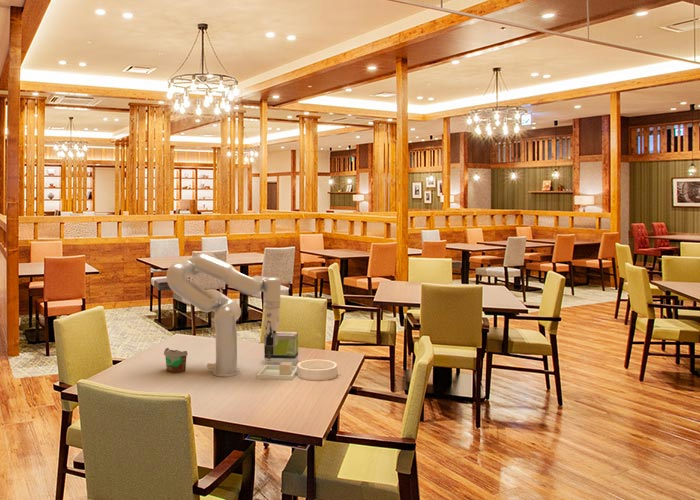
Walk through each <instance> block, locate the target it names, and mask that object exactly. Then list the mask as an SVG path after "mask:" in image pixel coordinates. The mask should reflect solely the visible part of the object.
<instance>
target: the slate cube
mask: <svg viewBox="0 0 700 500" xmlns="http://www.w3.org/2000/svg"><path fill="white" fill-rule="evenodd" d="M264 335H265V340H264V339H263V340H264V341H263V342H264V343H263V347H264V346H266V333H265V334H264ZM277 344H278V333H273V346H276V345H277Z"/></svg>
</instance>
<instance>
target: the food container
mask: <svg viewBox="0 0 700 500" xmlns="http://www.w3.org/2000/svg"><path fill="white" fill-rule="evenodd" d="M163 355H164V356H165V357H164V358H165V367H166V372H167V373H170V374H180V373H185V372H186V368H187V367H186V366H187V357H188V351H187V350H183V351H182V350H177V349H174V350H173V349H170V348H169V347H167V348H165V349H164V351H163Z"/></svg>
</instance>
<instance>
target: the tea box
mask: <svg viewBox="0 0 700 500" xmlns="http://www.w3.org/2000/svg"><path fill="white" fill-rule="evenodd" d="M276 333H278V344H277V345H276V346H264V345H263V347H264V348H263V351H264V353H263V355H264V357H263V358H264V365H276V366H279V365H280V364H281V362H293V366H295V365H297V364H298V362H299V332H298V331H276ZM263 337H264V338H263V340H265V334H264V336H263Z"/></svg>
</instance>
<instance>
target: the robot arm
mask: <svg viewBox="0 0 700 500" xmlns="http://www.w3.org/2000/svg"><path fill="white" fill-rule="evenodd" d="M202 273H203V274H205V275H207V276H209V277H212V278H215V279H217V280H219V281H221V282H223V283H225V284H226V285H228V286H229V287H231V288H233V289H235V290H237V291H240V292H242V293H245V294H247V295H250V296H251V295H252V296H254V295H257V294H259V293H261V292H263V302H262V303H263V307H262V308H263V309H265V313H264V330H265V331H266V333H265V334H266V346H273V333H276V332H277V330H278V329H279V328H280V309H281V289H282V288H281V283H282V282H281V278H279V277H277V276H261V275H253V276H248V275H246V274H244V273H241V272H240V271H238V270H237V269H235V267H234V266H233V265H232V264H231V263H229V262H227V261H224V260H222V259H219V258H217V257H216V255H215V254H214V253H212V252H210V251H203V252H201V253H198V254H196V255H195V256H193V257H188V258H186V259H184V260H180V261H177V262H174V263H172V264H171V265H170V266H169V267H168V268H167V271H166V282H167V285H168V287H169V289H171V291H172V292H174V293H175V294H176V295H177V296H179V297H180V298H182V299H183V300H185V301H186V302H188V303H189V304H191V305H192V306H194V307H195V308H196V309H198V310H199V311H201V312H203V313H210V312H214V316H213V320H214V331H215V333H214V334H215V362H214V363H211V362H210V363H207V365H206V368H207V369H211V370H212V375H213V376H215V377H220V378H224V377H225V378H226V377H234V376H238V375H240V374H241V368H238V337H237V336H238V333H237V321H238V320H239V318H240V317H241V315H242V309H241V307H240V305H239V304H238V303H237V302H236V301H234V300H233V299H231V298H230V297H229V296H227V295H225V294H224V293H222V292H220V291H219V290H217V289H214V288H213V289H212V288H210V289H204V288H202V286H201V287H200V286H199V285H198V284H197V283H195V282H192V281H191V280H189V279H190V278H192V277H194V276H197V275H200V274H202ZM188 278H189V279H188Z"/></svg>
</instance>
